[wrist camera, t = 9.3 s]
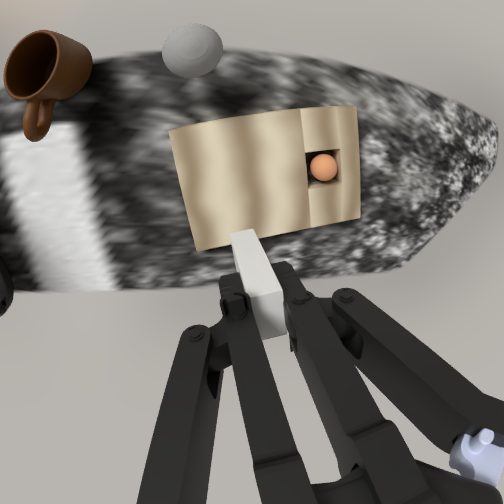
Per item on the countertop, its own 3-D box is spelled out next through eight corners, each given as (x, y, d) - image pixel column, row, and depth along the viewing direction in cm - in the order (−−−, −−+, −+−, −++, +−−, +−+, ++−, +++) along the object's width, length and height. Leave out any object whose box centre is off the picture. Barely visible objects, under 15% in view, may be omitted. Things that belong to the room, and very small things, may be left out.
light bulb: (206, 35, 25) (209, 7, 17) (225, 72, 28) (235, 57, 20) (163, 54, 26) (148, 34, 17) (182, 92, 28) (174, 84, 20)
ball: (333, 185, 33) (341, 177, 35) (331, 157, 31) (339, 152, 33) (307, 183, 34) (316, 176, 37) (304, 156, 33) (314, 151, 35)
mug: (89, 131, 28) (55, 141, 20) (40, 136, 27) (-1, 149, 19) (98, 39, 23) (67, 20, 15) (47, 48, 21) (8, 38, 13)
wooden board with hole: (197, 242, 38) (197, 251, 36) (170, 129, 30) (168, 131, 28) (351, 211, 39) (360, 217, 37) (346, 105, 32) (356, 106, 30)
